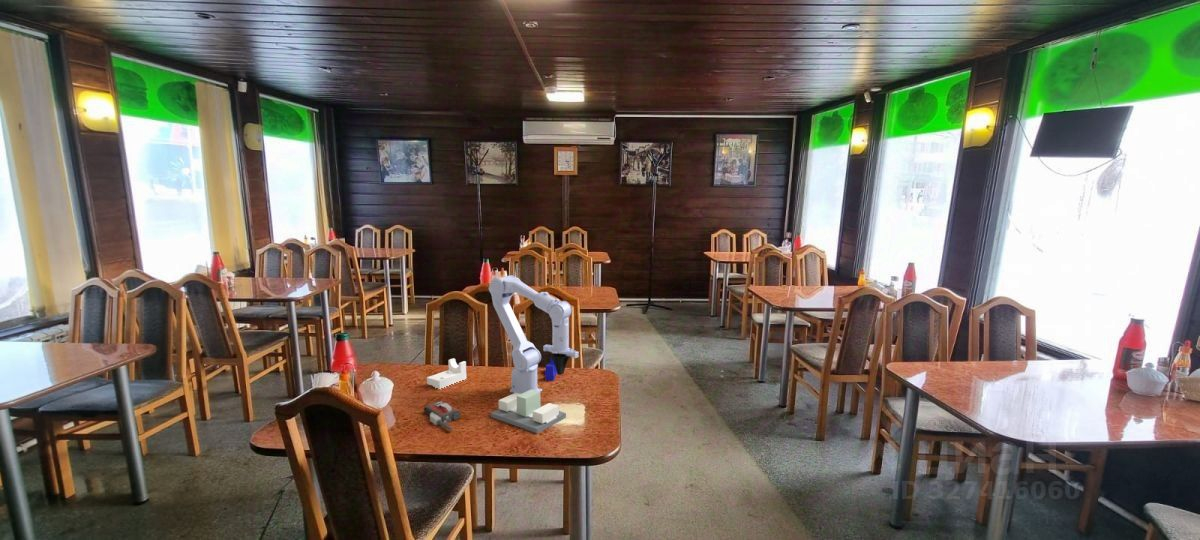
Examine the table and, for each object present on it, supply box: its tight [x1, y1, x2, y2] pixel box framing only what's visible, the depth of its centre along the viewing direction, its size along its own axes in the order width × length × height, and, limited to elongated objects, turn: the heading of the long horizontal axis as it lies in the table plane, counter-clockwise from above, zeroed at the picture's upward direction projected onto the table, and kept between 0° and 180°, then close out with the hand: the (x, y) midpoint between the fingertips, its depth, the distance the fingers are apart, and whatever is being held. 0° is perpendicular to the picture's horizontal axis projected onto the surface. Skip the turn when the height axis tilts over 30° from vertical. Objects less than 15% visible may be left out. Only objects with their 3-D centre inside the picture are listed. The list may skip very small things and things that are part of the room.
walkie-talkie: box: [423, 400, 461, 431], centre depth 161 cm, size 9×4×20 cm
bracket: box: [426, 357, 467, 390], centre depth 193 cm, size 13×7×8 cm, turn 147°
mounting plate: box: [490, 393, 567, 434], centre depth 163 cm, size 20×14×5 cm
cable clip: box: [544, 357, 558, 382], centre depth 202 cm, size 12×4×6 cm, turn 175°
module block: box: [517, 389, 542, 417], centre depth 163 cm, size 4×7×6 cm, turn 145°
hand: (560, 373), depth 177 cm, fingers closed
